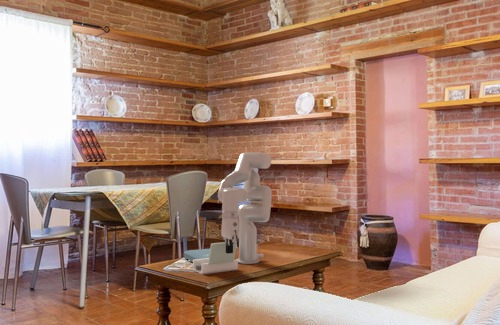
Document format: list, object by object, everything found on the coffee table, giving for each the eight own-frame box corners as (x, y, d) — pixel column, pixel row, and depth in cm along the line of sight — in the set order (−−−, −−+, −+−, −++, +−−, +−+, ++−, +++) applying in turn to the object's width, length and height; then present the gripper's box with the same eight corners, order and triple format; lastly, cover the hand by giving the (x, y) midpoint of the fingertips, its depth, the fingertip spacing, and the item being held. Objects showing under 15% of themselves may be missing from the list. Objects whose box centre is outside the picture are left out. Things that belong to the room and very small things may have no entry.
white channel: (227, 265, 251) (227, 255, 251) (237, 269, 242) (238, 260, 242) (192, 269, 241) (192, 259, 241) (202, 274, 231) (202, 264, 231)
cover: (236, 241, 238) (237, 242, 237) (233, 260, 240) (233, 261, 239) (210, 243, 230) (211, 244, 230) (208, 263, 233) (208, 264, 232)
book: (228, 265, 254) (228, 256, 254) (200, 268, 246) (200, 258, 246) (210, 257, 273) (210, 248, 273) (183, 259, 265) (184, 250, 265)
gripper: (244, 216, 225) (244, 255, 225) (229, 212, 237) (228, 249, 238) (230, 217, 221) (230, 256, 221) (215, 213, 233) (215, 251, 234)
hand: (229, 253), depth 229 cm, fingers closed
